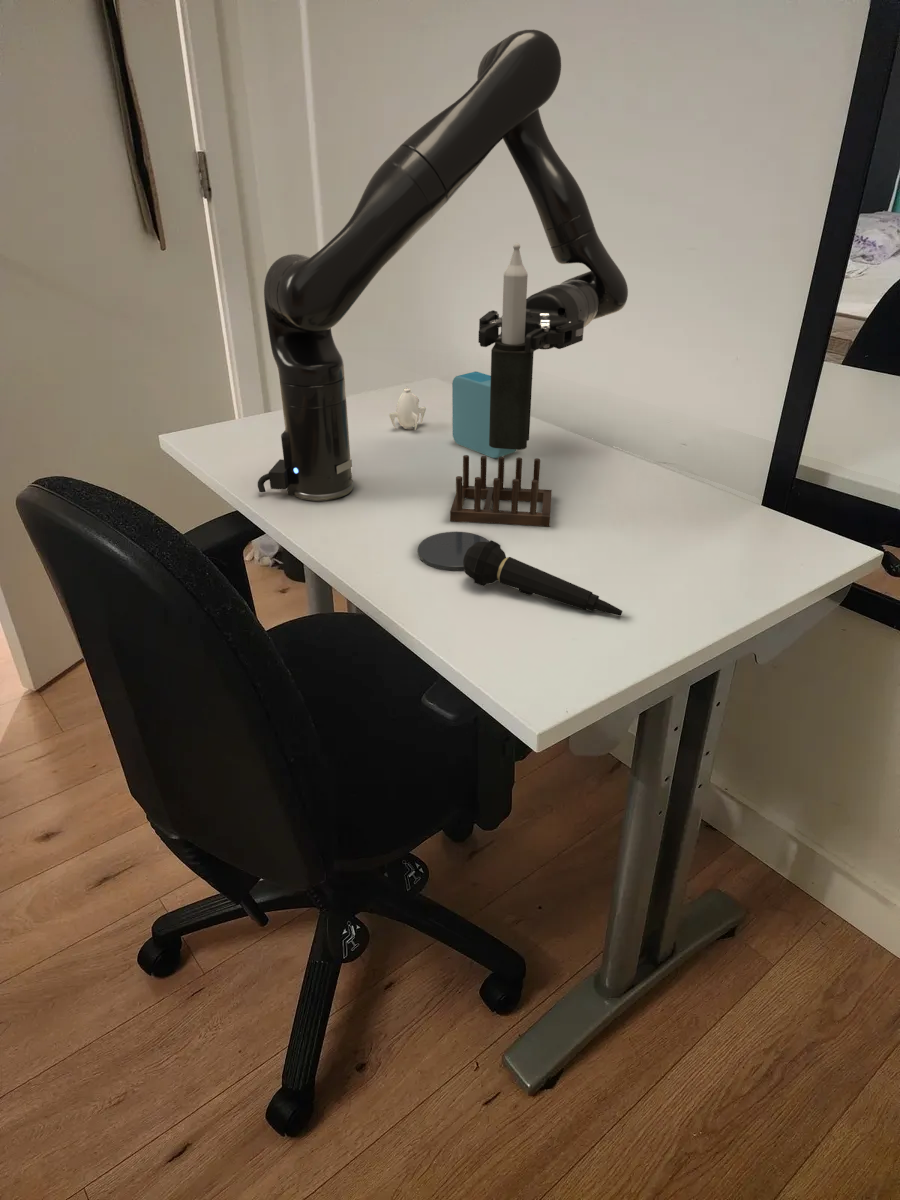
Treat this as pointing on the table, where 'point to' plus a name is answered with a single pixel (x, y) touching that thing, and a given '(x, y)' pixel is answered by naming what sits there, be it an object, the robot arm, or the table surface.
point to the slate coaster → (447, 549)
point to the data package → (473, 413)
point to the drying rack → (500, 497)
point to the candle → (511, 365)
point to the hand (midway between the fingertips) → (505, 341)
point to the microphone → (527, 578)
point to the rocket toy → (407, 410)
